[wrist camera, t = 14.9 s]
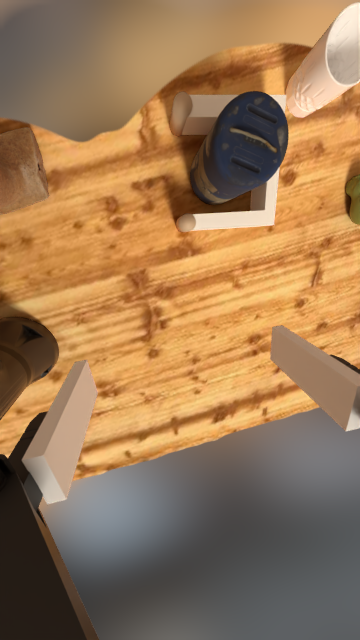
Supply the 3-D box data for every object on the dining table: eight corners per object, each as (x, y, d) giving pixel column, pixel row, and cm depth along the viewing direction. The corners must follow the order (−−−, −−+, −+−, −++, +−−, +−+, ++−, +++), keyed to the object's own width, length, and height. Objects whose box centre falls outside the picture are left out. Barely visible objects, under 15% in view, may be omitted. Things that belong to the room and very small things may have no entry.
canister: (206, 134, 37) (251, 50, 21) (247, 168, 40) (316, 119, 23) (179, 187, 40) (199, 151, 23) (219, 216, 42) (263, 202, 26)
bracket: (176, 232, 42) (180, 231, 37) (168, 115, 36) (172, 91, 30) (258, 227, 44) (274, 225, 38) (266, 114, 37) (288, 91, 31)
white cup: (311, 129, 39) (361, 95, 30) (274, 112, 37) (315, 72, 28) (331, 74, 37) (393, 19, 27) (293, 54, 35) (344, -12, 26)
